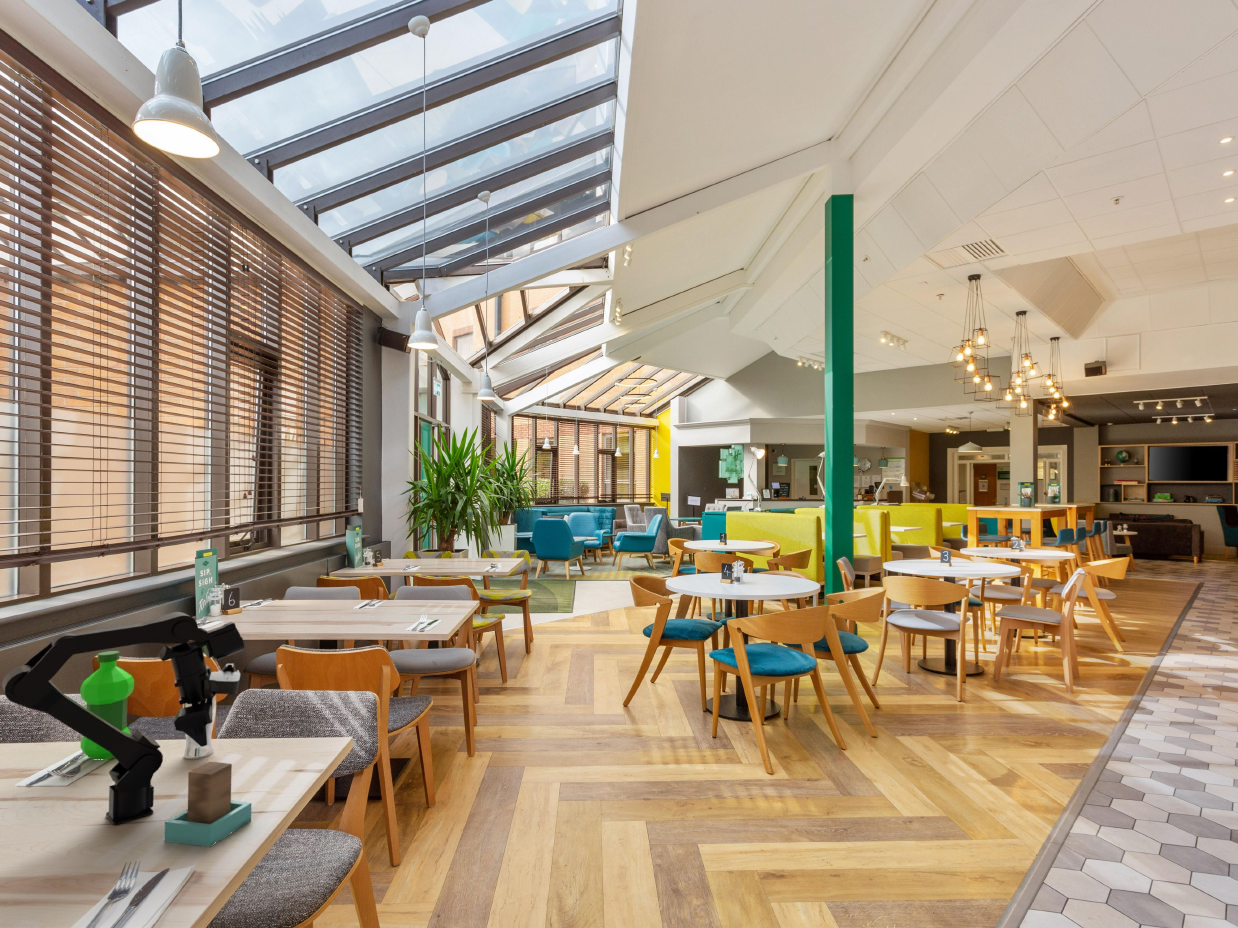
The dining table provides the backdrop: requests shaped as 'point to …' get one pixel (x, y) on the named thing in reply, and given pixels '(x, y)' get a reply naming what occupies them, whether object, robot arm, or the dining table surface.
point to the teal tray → (207, 826)
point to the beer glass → (195, 749)
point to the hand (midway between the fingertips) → (206, 733)
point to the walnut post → (209, 792)
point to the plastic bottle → (107, 699)
